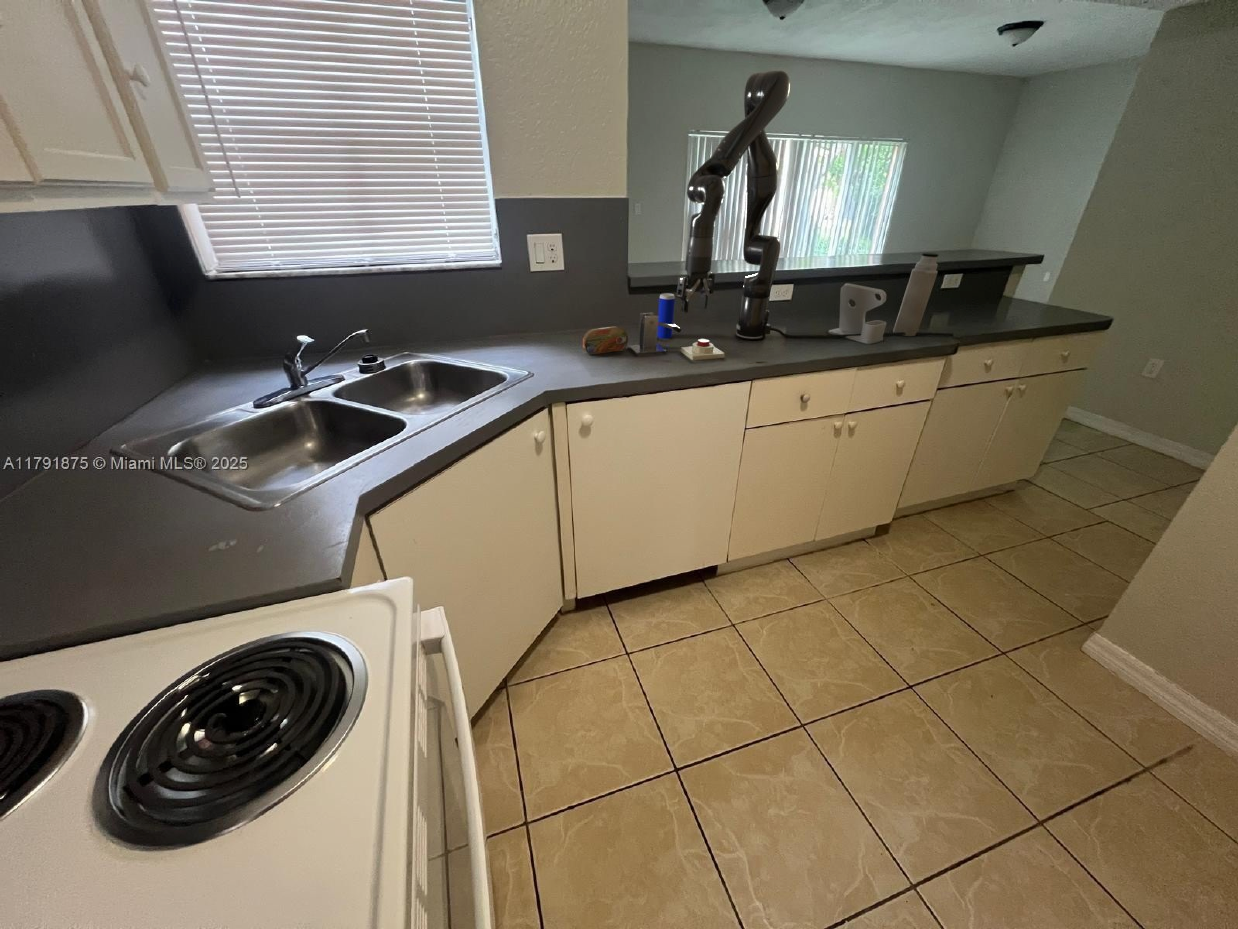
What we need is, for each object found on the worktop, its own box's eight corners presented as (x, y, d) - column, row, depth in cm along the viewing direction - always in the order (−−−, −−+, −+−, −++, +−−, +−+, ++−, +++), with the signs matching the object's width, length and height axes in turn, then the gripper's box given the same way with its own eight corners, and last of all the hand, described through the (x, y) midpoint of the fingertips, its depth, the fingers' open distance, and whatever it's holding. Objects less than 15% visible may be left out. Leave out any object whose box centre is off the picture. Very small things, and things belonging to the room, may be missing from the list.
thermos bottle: (894, 329, 188) (918, 250, 174) (917, 332, 184) (944, 252, 170) (891, 333, 182) (916, 253, 168) (915, 337, 179) (943, 255, 164)
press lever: (673, 330, 159) (676, 323, 158) (679, 334, 155) (682, 327, 154) (640, 321, 154) (643, 313, 154) (646, 325, 150) (649, 317, 149)
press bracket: (656, 346, 162) (659, 310, 156) (666, 354, 156) (668, 316, 150) (628, 349, 160) (629, 312, 154) (636, 356, 153) (638, 318, 147)
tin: (585, 358, 150) (585, 331, 146) (581, 355, 153) (580, 328, 148) (628, 352, 157) (628, 326, 152) (623, 349, 159) (624, 323, 155)
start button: (705, 343, 154) (706, 338, 153) (710, 347, 151) (711, 341, 150) (695, 344, 153) (696, 339, 152) (700, 348, 150) (701, 342, 149)
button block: (710, 351, 159) (712, 339, 157) (724, 360, 152) (725, 347, 150) (680, 354, 156) (681, 341, 154) (692, 363, 149) (693, 350, 147)
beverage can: (671, 337, 172) (675, 293, 165) (671, 341, 168) (675, 296, 160) (657, 336, 173) (659, 292, 165) (656, 340, 168) (659, 295, 161)
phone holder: (885, 340, 174) (901, 288, 165) (869, 344, 170) (884, 291, 160) (842, 328, 187) (855, 279, 177) (826, 332, 182) (838, 282, 173)
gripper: (692, 257, 135) (687, 316, 143) (724, 253, 143) (717, 309, 151) (673, 254, 140) (668, 311, 148) (705, 250, 148) (699, 305, 156)
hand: (693, 310), depth 150 cm, fingers open, 8 cm apart
